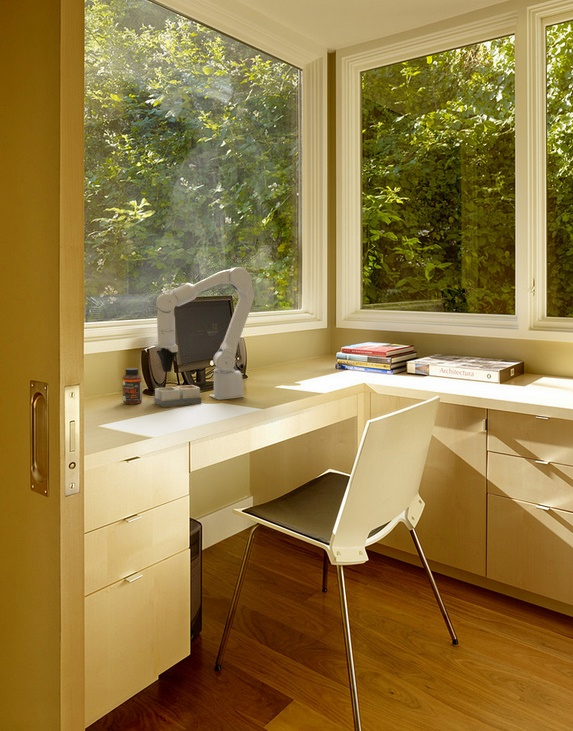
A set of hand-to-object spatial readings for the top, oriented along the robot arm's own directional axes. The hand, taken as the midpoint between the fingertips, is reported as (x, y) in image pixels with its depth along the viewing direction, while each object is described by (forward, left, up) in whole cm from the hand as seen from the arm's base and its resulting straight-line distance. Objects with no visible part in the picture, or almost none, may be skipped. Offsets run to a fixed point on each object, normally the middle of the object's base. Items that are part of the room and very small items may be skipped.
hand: (167, 371), depth 206 cm
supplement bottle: (+12, 0, -10) cm, 15 cm away
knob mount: (0, +8, -9) cm, 12 cm away
